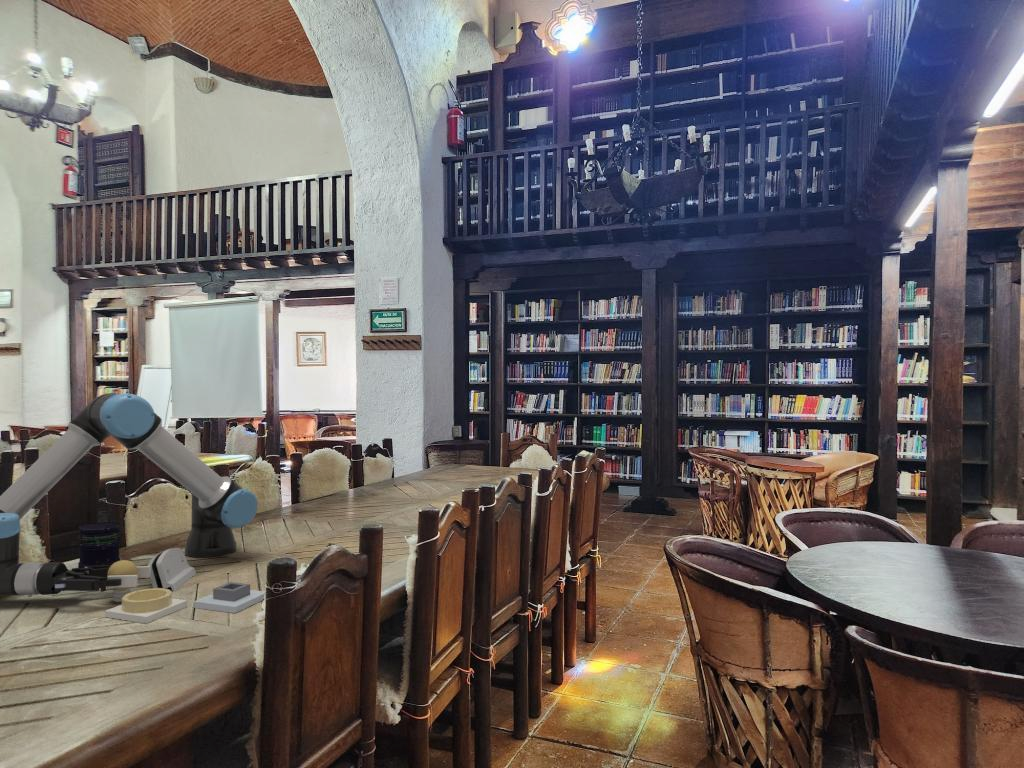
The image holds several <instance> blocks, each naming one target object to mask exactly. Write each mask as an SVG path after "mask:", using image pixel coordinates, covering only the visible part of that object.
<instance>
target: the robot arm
mask: <svg viewBox="0 0 1024 768" xmlns="http://www.w3.org/2000/svg"><path fill="white" fill-rule="evenodd" d="M67 425H68V426H67V427H68V429H67V430H66V431H65V432H64V433H63V434H61V436H60V437H59V438H58V439H57V440H56V441H55V442H54V443H52V445H51V446H50V447H48V449H47V450H46V451H45V452H44V453H43V454H41V456H39V458H37V459H36V461H35V462H33V463H32V465H30V466H29V467H28V469H26V471H24V472H23V473H22V474H21V475H20V476H19V477H18V478H17V479H16V480H15V481H14V482H13V483H12V484H11V485H10V486H9V487H8V488H7V489H6V490H5V491H4V492H2V493H1V495H0V597H2V596H3V597H5V596H24V595H25V596H27V597H28V598H31V597H32V596H37V595H42V596H43V595H58V594H60V593H61V592H64V591H65V592H66V591H69V592H99V591H100V592H101V593H104V592H107V589H110V588H111V589H112V588H113V589H115V588H118V587H131V588H138V579H142V578H147V579H150V577H151V566H148V565H147V566H146V565H143V566H137V565H136V567H137V575H116V576H108V577H107V573H108V570H109V568H110V567H111V565H100V566H86V565H84V566H82V568H78V567H73V568H71V569H68V567H67V566H66V564H65V563H64V562H24V563H23V562H19V561H20V540H21V539H20V536H21V535H20V534H21V533H20V531H21V528H22V527H21V523H20V521H21V520H22V519H23V518H24V516H26V515H27V514H28V512H29V511H30V510H31V509H33V508H34V507H35V506H36V504H38V503H39V502H40V501H41V500H42V499H43V497H44V496H46V495H47V493H48V492H50V490H51V489H52V488H53V487H54V486H55V485H56V484H57V483H59V482H60V480H62V478H63V477H64V476H65V475H66V474H68V472H69V471H70V470H71V469H72V468H73V467H74V466H75V465H76V464H77V463H78V462H79V461H80V460H81V459H82V458H83V457H84V456H85V455H86V454H87V453H88V452H89V451H90V450H91V449H92V448H93V447H99V446H100V445H102V443H103V442H104V441H105V440H107V439H108V438H110V437H111V438H113V439H114V440H115V441H116V442H118V443H120V444H121V445H122V446H123V447H125V449H127V450H137V451H139V452H140V453H142V454H143V455H144V456H145V457H147V459H148V460H151V462H153V463H154V465H156V466H158V468H160V469H161V470H162V471H164V472H165V473H166V474H167V475H169V477H171V478H172V479H174V481H176V482H177V483H178V484H180V486H182V487H184V488H185V489H186V490H187V491H188V492H190V494H191V527H190V528H191V529H190V531H189V534H188V537H187V540H186V544H185V545H184V555H185V556H187V557H192V558H212V557H214V558H215V557H221V556H222V557H223V556H226V555H230V554H232V553H234V552H236V551H237V541H236V540H235V535H234V532H233V529H232V528H236V529H237V528H242V527H244V526H246V525H249V523H250V522H251V521H252V520H254V518H255V516H256V514H257V512H258V504H259V503H258V498H257V496H256V494H255V493H254V492H252V491H250V489H247V488H243V487H241V486H240V485H239V484H238V483H237V482H236V481H234V480H233V479H232V478H231V477H229V476H226V475H225V476H220V475H219V474H218V473H217V472H216V471H215V470H213V469H212V468H211V467H210V466H209V465H208V464H206V463H205V462H204V461H203V460H202V459H200V458H199V457H198V456H197V455H196V454H195V453H194V452H192V451H191V450H190V449H189V448H188V447H186V446H185V445H184V444H183V443H182V442H181V441H180V440H178V439H177V438H176V437H175V436H173V434H171V433H170V432H169V431H168V430H166V429H165V428H164V427H163V419H162V418H161V416H159V415H158V414H157V413H155V410H154V408H153V406H152V405H151V403H150V402H149V401H148V400H147V399H145V398H143V397H141V396H139V395H136V394H133V393H115V392H108V393H103V394H100V395H98V396H97V397H95V398H94V399H92V400H91V401H90V402H89V403H88V404H87V405H86V406H85V407H84V408H82V410H81V411H80V412H78V413H77V414H76V416H75V417H74V418H73V419H71V421H70V422H68V424H67ZM106 578H107V579H106Z"/></svg>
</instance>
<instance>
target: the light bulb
mask: <svg viewBox="0 0 1024 768" xmlns="http://www.w3.org/2000/svg"><path fill="white" fill-rule="evenodd" d="M136 566H137V565H136V564H135V562H133V561H130V560H127V559H126V560H125V559H123V560H121V559H120V561H118V562H115V563H114V564H112V565H111V567H110V568H109V570H108V573H107V577H108V576H116V575H137V567H136ZM131 588H132V587H118V588H113V591H112V593H113V594H112V597H113V598H112V600H113V602H115V603H122V597H124V596H125V595H126V594H128V593H131V591H132V589H131Z"/></svg>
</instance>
